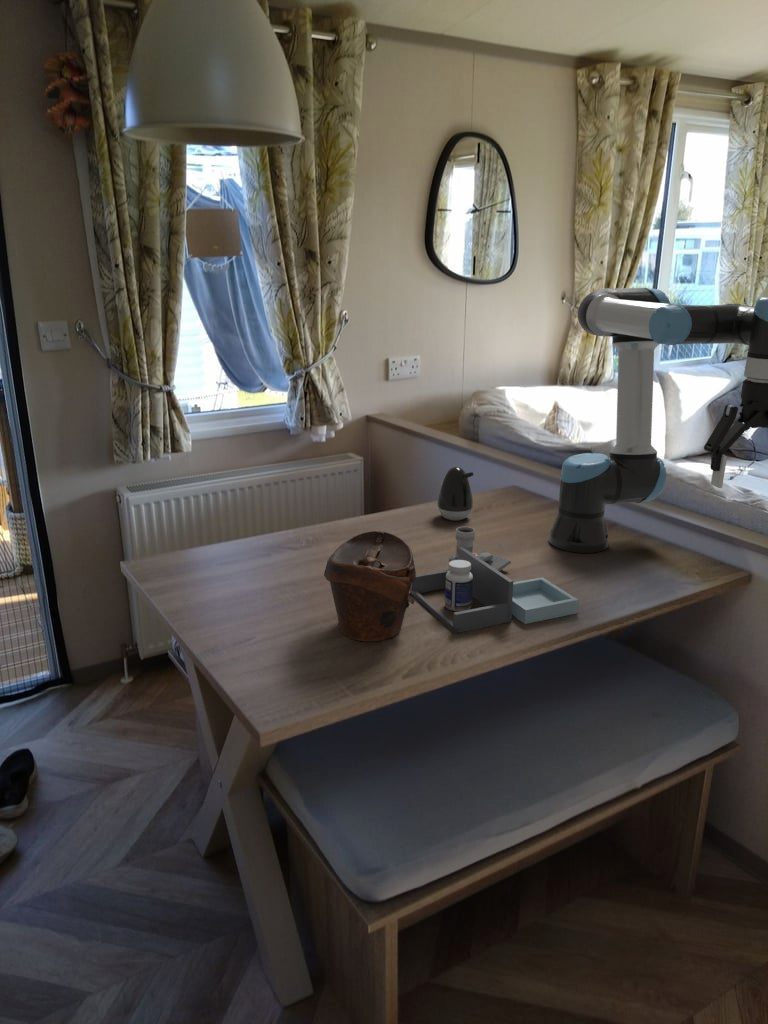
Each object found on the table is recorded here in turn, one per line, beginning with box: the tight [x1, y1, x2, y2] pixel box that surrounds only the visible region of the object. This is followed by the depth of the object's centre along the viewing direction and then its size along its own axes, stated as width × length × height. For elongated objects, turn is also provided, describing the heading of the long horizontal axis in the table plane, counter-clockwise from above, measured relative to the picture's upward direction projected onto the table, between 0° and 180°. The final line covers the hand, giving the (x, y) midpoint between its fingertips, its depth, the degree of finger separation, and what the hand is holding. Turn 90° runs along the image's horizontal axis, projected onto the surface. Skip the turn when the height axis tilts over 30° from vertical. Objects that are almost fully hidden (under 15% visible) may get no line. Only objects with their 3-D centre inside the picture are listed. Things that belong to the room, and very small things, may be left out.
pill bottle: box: [444, 560, 473, 612], centre depth 158 cm, size 6×6×10 cm
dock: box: [409, 547, 515, 634], centre depth 158 cm, size 21×13×9 cm, turn 23°
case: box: [323, 530, 417, 643], centre depth 147 cm, size 18×20×18 cm
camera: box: [448, 526, 512, 572], centre depth 176 cm, size 9×12×15 cm
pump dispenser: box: [436, 466, 474, 522], centre depth 214 cm, size 10×10×15 cm
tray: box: [511, 576, 579, 625], centre depth 160 cm, size 13×13×3 cm
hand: (746, 484), depth 152 cm, fingers open, 13 cm apart
